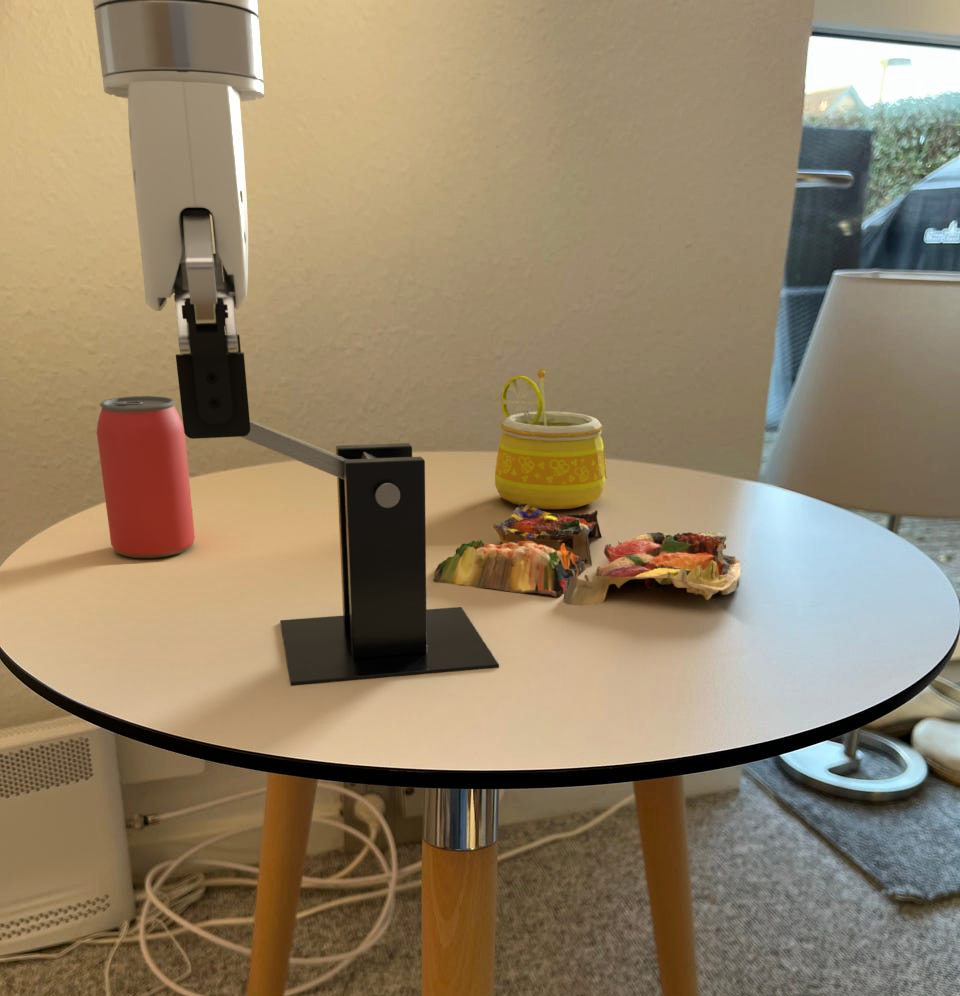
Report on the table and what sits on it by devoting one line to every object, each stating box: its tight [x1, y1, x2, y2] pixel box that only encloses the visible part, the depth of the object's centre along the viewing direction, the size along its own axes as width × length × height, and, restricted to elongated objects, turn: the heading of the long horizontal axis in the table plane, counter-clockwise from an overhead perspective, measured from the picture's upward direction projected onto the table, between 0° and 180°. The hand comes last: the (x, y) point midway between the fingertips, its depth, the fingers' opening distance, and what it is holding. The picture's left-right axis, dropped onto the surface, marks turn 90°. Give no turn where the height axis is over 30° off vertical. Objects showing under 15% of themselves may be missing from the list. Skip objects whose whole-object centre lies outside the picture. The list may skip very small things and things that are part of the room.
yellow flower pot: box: [494, 368, 608, 510], centre depth 99 cm, size 13×11×12 cm
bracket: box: [279, 442, 500, 687], centre depth 60 cm, size 12×10×13 cm
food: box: [432, 504, 742, 606], centre depth 77 cm, size 22×19×4 cm
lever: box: [240, 418, 378, 479], centre depth 57 cm, size 12×5×2 cm, turn 104°
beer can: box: [96, 395, 196, 560], centre depth 81 cm, size 7×7×12 cm
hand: (217, 420), depth 55 cm, fingers open, 9 cm apart
